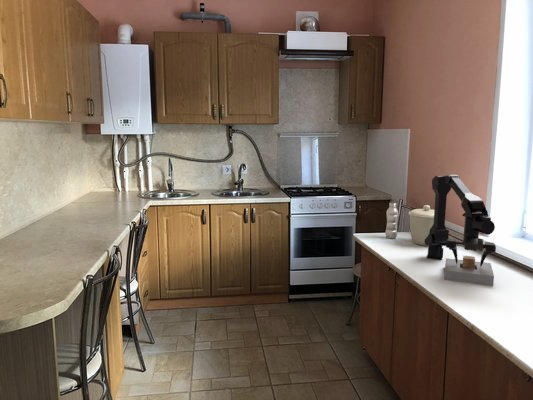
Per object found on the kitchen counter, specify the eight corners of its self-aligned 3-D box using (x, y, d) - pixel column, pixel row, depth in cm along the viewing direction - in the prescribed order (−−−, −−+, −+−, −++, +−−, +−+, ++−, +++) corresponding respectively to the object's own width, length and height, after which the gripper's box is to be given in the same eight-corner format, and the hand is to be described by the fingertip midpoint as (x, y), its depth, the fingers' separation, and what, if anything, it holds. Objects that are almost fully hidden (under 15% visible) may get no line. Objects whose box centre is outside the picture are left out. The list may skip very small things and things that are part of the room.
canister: (412, 237, 250) (415, 201, 246) (446, 242, 239) (449, 204, 236) (402, 244, 235) (404, 205, 232) (437, 250, 225) (439, 209, 221)
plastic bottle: (391, 240, 244) (392, 204, 241) (382, 237, 250) (384, 202, 247) (399, 238, 247) (401, 203, 244) (391, 236, 253) (393, 201, 250)
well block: (444, 279, 182) (445, 270, 181) (445, 266, 198) (445, 258, 198) (493, 285, 175) (494, 276, 174) (489, 271, 192) (490, 263, 191)
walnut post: (462, 276, 186) (463, 258, 184) (461, 273, 190) (463, 255, 188) (473, 278, 184) (475, 259, 183) (473, 274, 188) (474, 256, 187)
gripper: (447, 230, 180) (444, 267, 182) (498, 235, 172) (495, 273, 175) (447, 225, 190) (445, 260, 192) (496, 229, 183) (492, 265, 185)
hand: (468, 264), depth 186 cm, fingers open, 9 cm apart
